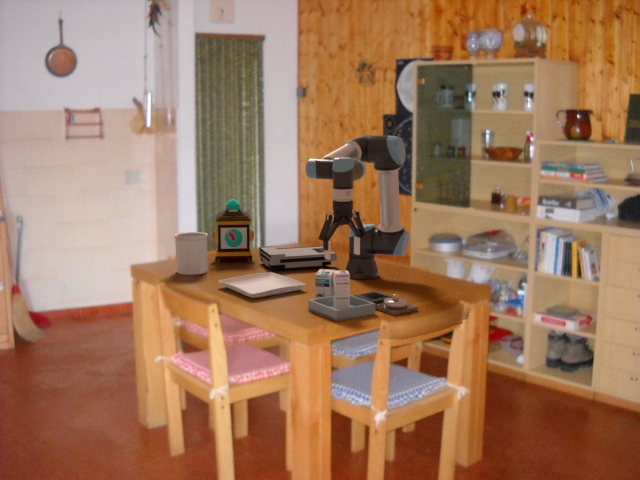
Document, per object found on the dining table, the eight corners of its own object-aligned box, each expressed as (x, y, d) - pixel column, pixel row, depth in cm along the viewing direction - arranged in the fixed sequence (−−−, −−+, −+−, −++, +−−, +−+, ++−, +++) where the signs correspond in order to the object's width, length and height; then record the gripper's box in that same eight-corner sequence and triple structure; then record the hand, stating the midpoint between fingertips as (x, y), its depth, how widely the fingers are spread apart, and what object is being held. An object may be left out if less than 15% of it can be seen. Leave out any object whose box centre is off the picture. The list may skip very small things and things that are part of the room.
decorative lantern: (253, 255, 392) (252, 196, 387) (255, 263, 373) (254, 201, 367) (213, 255, 389) (212, 196, 384) (213, 264, 370) (212, 202, 365)
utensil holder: (173, 269, 359) (172, 232, 356) (205, 267, 363) (204, 230, 360) (177, 276, 345) (176, 237, 342) (211, 274, 350) (210, 236, 346)
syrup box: (350, 311, 288) (350, 273, 286) (334, 311, 288) (334, 273, 285) (348, 307, 294) (348, 269, 291) (332, 307, 293) (333, 270, 291)
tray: (308, 310, 293) (308, 299, 292) (345, 303, 303) (346, 293, 303) (336, 321, 279) (336, 310, 278) (375, 313, 289) (375, 303, 288)
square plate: (217, 288, 326) (216, 279, 326) (271, 279, 343) (271, 270, 342) (251, 302, 305) (251, 292, 305) (307, 291, 322) (307, 282, 321)
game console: (336, 268, 365) (336, 251, 363) (271, 273, 354) (271, 255, 353) (321, 259, 384) (322, 243, 382) (259, 263, 373) (259, 247, 372)
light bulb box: (331, 301, 305) (331, 275, 303) (314, 300, 307) (314, 274, 305) (335, 295, 316) (336, 269, 314) (319, 294, 317) (319, 268, 315)
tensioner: (353, 301, 306) (353, 286, 305) (376, 296, 313) (376, 282, 312) (393, 315, 287) (394, 300, 285) (417, 310, 293) (418, 295, 292)
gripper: (321, 204, 273) (320, 262, 277) (375, 198, 287) (374, 254, 292) (309, 201, 279) (309, 258, 283) (363, 195, 293) (362, 250, 298)
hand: (342, 256), depth 287 cm, fingers open, 13 cm apart
